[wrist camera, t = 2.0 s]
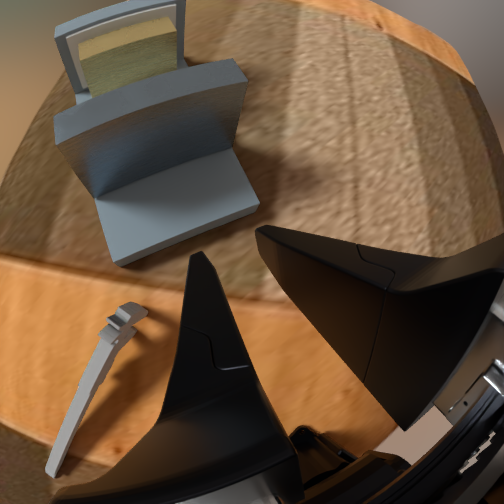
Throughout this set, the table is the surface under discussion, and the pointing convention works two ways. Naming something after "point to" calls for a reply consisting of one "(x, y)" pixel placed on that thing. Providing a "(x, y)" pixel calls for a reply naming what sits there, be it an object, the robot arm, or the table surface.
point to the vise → (166, 181)
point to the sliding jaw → (151, 125)
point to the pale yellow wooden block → (129, 55)
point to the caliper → (95, 376)
